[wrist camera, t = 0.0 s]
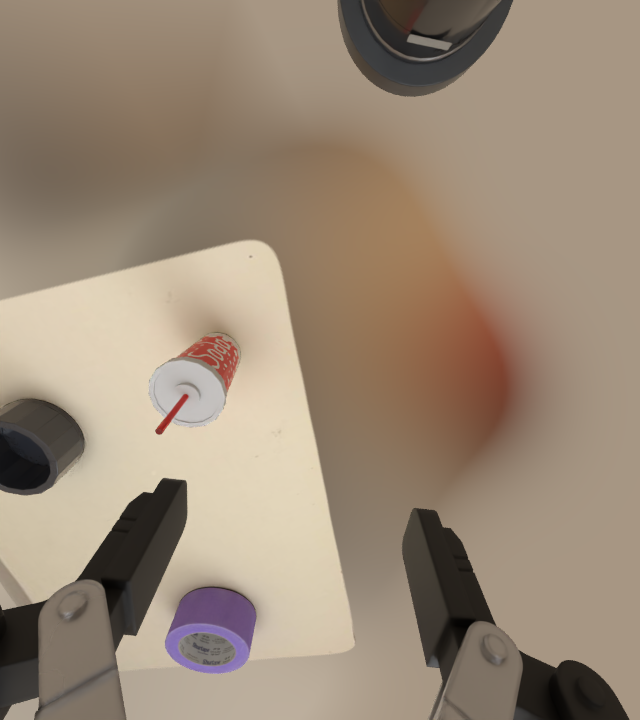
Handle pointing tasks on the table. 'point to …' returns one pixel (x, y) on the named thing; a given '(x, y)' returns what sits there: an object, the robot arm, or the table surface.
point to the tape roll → (212, 631)
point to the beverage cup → (195, 382)
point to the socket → (36, 446)
